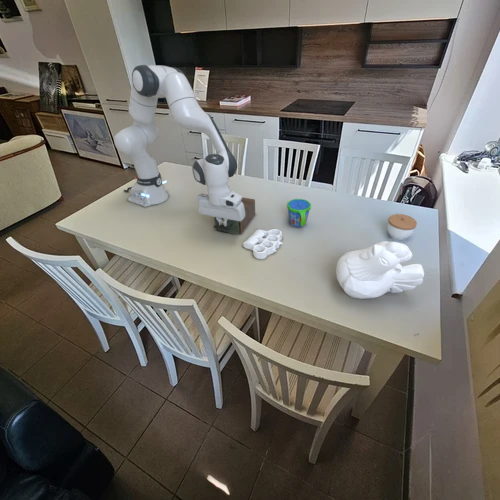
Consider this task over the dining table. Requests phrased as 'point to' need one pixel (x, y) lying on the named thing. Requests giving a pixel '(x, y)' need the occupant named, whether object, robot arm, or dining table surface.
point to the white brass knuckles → (264, 242)
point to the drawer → (228, 226)
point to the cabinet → (247, 213)
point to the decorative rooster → (378, 271)
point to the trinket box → (400, 226)
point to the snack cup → (298, 211)
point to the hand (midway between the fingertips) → (223, 225)
